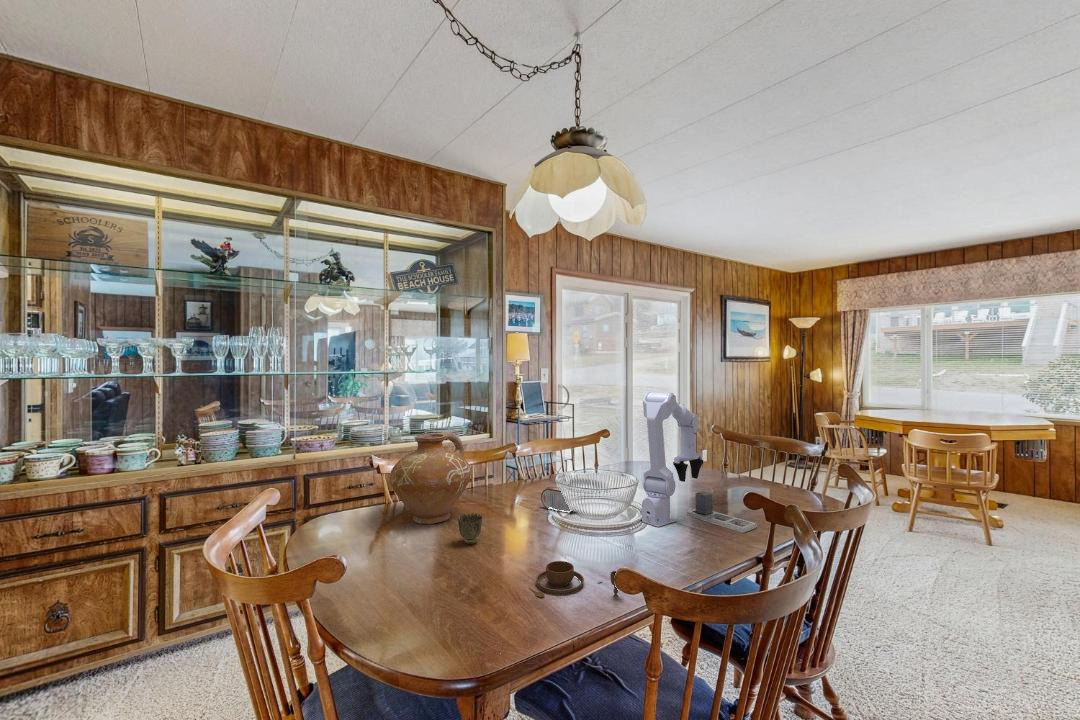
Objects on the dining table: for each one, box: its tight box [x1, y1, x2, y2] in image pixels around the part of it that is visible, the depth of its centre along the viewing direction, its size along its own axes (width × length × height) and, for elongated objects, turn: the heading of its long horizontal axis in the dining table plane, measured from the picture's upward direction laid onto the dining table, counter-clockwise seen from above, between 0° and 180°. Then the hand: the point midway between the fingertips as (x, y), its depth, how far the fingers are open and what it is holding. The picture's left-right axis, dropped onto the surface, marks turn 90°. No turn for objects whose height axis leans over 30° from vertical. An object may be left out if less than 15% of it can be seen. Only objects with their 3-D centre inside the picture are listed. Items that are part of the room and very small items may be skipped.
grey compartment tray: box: [686, 508, 758, 534], centre depth 167 cm, size 8×22×2 cm, turn 36°
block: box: [695, 490, 713, 516], centre depth 172 cm, size 4×4×8 cm
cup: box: [457, 512, 483, 545], centre depth 150 cm, size 8×7×8 cm
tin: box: [540, 485, 570, 511], centre depth 180 cm, size 15×3×8 cm, turn 58°
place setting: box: [528, 560, 619, 599], centre depth 119 cm, size 18×20×6 cm
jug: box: [389, 431, 472, 525], centre depth 173 cm, size 28×28×30 cm
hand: (688, 479), depth 187 cm, fingers open, 7 cm apart
